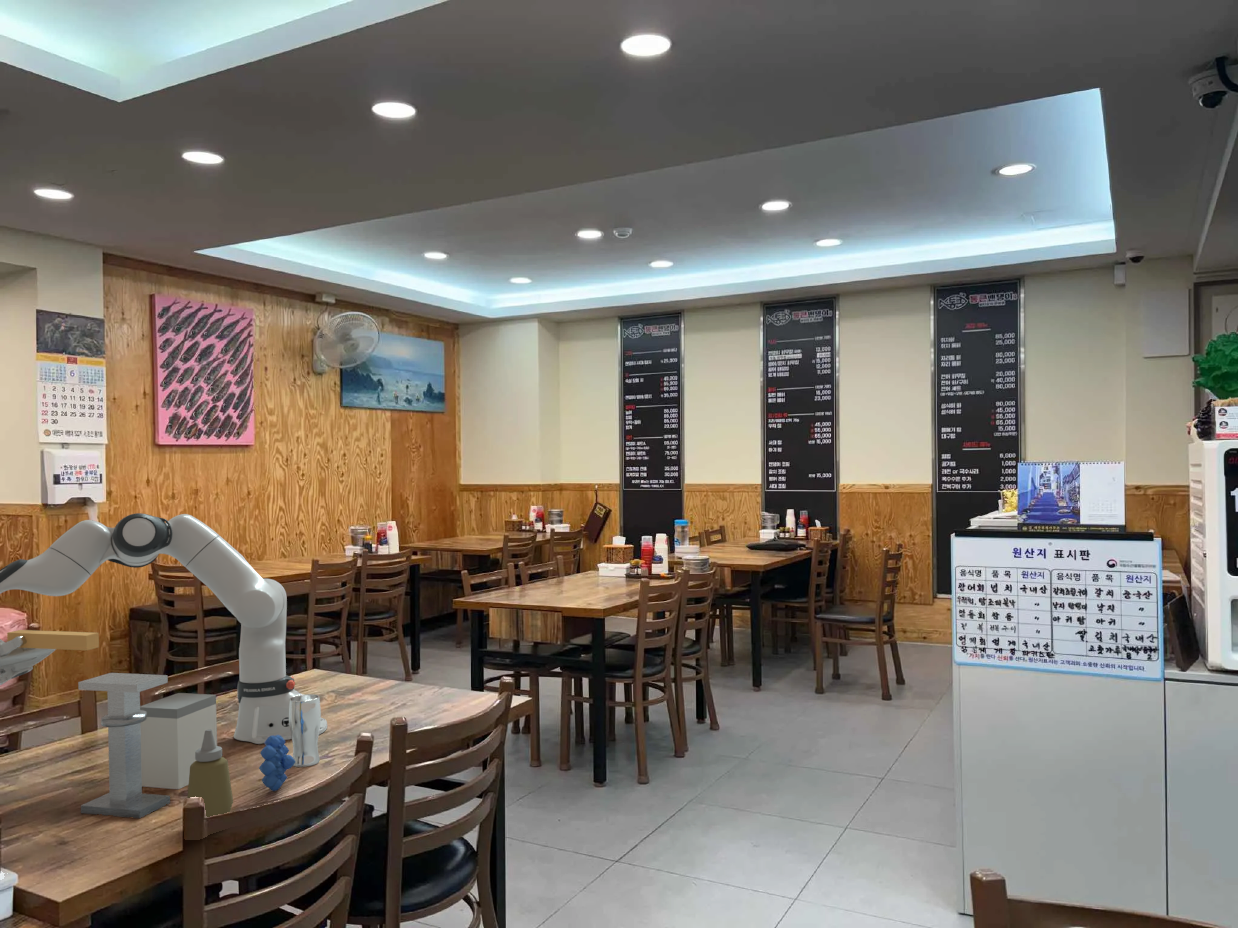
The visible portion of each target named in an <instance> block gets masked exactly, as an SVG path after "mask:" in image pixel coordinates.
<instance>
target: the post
mask: <svg viewBox="0 0 1238 928" xmlns="http://www.w3.org/2000/svg"><path fill="white" fill-rule="evenodd" d="M168 678H169V677H168V675H166V674H148V673H147V674H146V673H144V674H143V673H124V672H121V673H120V672H119V673H118V672H108V673H106V674H102V675H99V676H94V677H92V678H88V679H84V680H82V681H78V682H77V683H78V684H77V685H78V691H79V690H81V691H94V692H95V691H96V692H98V691H99V692H100V691H101V692H107V714H106V715H105V714H104V716H102V717H101V718H100V721H101V722H100V723H101V724H100V725H101V726H102V727H104V728H108V729H107V731H108V732H107V733H108V734H107V735H108V736H107V737H108V738H107V739H108V741H107V742H108V781H109V782H108V785H109V787H108V788H109V790H108V791H109V792H108V793H107V792H106V793H105V794H104V795H101V796H99V797H96V798H95V799H91V800H90V801H88V802H85V803H83V804H81V805H80V813H81V814H87V815H97V814H99V816H108V815H113V816H112V817H119V818H129V817H133V818H132V819H141V817H142V818H143V817H146V816H147V814H148V815H149V814H151V812H152V813H153V811H154V812H156V811H157V810H159V809H161V808H163V807H165V806H167V805H169V804H171V795H166V794H156V793H155V794H152V793H143V788H142V787H143V786H142V777H141V728H140V723H141V722H143V721H145V720H146V719H147V712H146V711H143V710H140V706H141V694H140V693H141V692H144V691H147V690H149V689H150V690H151V689H152V688H156V687H158V686H162V685H165V684H168V680H169V679H168ZM166 804H167V805H166ZM100 814H102V815H100ZM145 815H146V816H145Z"/></svg>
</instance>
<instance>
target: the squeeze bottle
mask: <svg viewBox="0 0 1238 928" xmlns="http://www.w3.org/2000/svg"><path fill="white" fill-rule="evenodd" d="M195 760H196V761H195V762H193V763H192V764H191V766H190V774H189V785H187V786H188V788H187V798H190V797H195V796H196V797H202V798H203V799H204V803H205V810H206V816H207V817H210V816H213V815H218V814H224V813H227V812H230V813H231V809H232V807H233V803H234V800H233V789H232V783H231V777H230V776H231V775H230V768H229V762H228V759H226V757H224V756H223V748H222V747H221V746H218V745H217V746H216V744H215V740H214V737H213V733H212V730H205V733H204V738H203V743H202V748H200V749H198V750H196V752H195ZM187 798H186V799H187Z"/></svg>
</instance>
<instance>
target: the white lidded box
mask: <svg viewBox="0 0 1238 928" xmlns="http://www.w3.org/2000/svg"><path fill="white" fill-rule="evenodd" d="M140 710H143V711H146V712H147V719H146V720H145V721H143V722H141V723H140V728H141V777H142V787H143V788H144V787H147V788H160V789H169V790H181V789H182V788H184V787H186V786H188V785H189V774H190V766H191V764H192V763H193V762H195V761H196V760H195V752H196V750H198V749H200V748H202V743H203V738H204V733H205V730H212V733H213V737H214V740H215V744H216V746H218V734H217V731H218V730H217V729H218V728H217V727H218V726H217V722H218V721H217V694H206V693H186V692H178V693H175V694H172V695H169V696H165V697H163V698H160V699H156V700H154V701H152V702H149V703H146V704H143V705H140Z"/></svg>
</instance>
